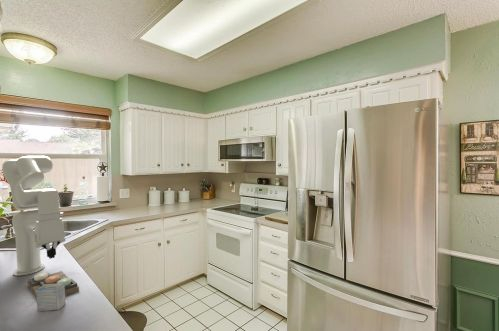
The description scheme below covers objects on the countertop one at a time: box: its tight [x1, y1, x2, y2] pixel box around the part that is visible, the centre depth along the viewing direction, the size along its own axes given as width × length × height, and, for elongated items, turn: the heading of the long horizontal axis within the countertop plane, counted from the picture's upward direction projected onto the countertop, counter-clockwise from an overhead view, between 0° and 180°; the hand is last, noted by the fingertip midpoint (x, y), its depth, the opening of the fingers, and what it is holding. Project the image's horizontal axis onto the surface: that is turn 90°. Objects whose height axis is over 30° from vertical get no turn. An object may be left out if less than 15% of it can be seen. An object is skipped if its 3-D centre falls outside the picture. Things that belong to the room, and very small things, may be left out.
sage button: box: [57, 277, 72, 287], centre depth 112 cm, size 5×5×2 cm
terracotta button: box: [45, 275, 59, 284], centre depth 115 cm, size 5×5×2 cm
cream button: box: [33, 272, 49, 282], centre depth 118 cm, size 5×5×2 cm
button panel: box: [27, 271, 80, 298], centre depth 115 cm, size 26×13×3 cm, turn 50°
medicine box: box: [36, 283, 66, 312], centre depth 99 cm, size 8×4×9 cm, turn 92°
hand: (51, 257), depth 114 cm, fingers closed
